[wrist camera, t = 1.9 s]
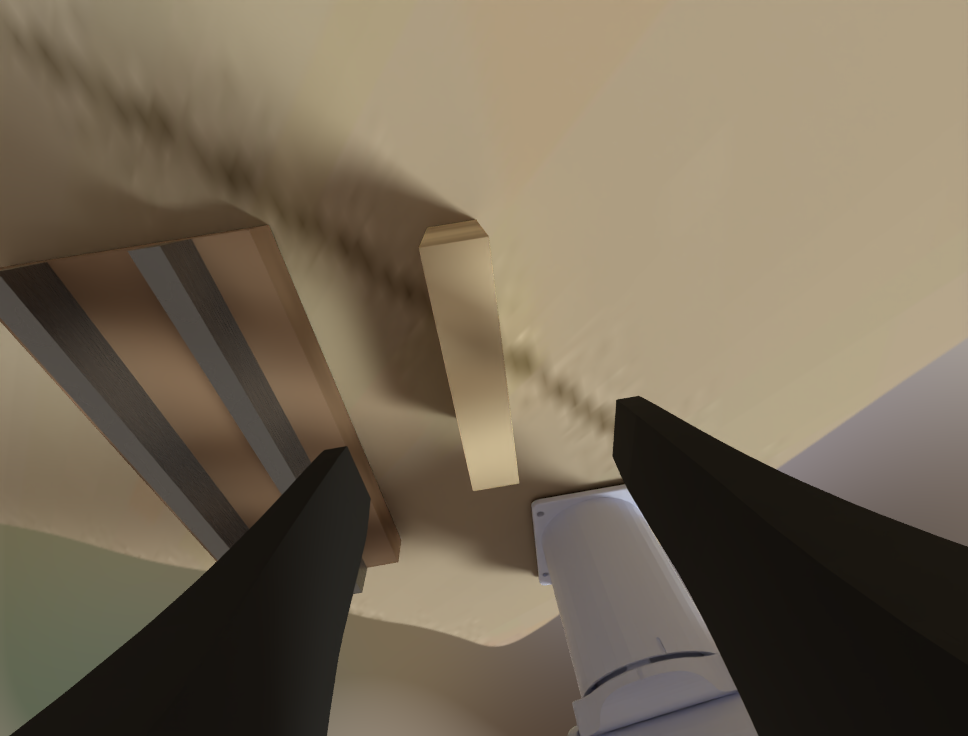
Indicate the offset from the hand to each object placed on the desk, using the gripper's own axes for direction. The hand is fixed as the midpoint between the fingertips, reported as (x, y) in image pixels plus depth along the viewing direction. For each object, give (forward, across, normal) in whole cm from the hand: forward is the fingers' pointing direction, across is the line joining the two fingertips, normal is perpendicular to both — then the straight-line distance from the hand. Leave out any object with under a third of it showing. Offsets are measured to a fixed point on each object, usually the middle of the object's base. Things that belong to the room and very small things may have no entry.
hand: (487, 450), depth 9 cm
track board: (+8, +12, +4) cm, 15 cm away
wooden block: (+8, 0, 0) cm, 8 cm away
